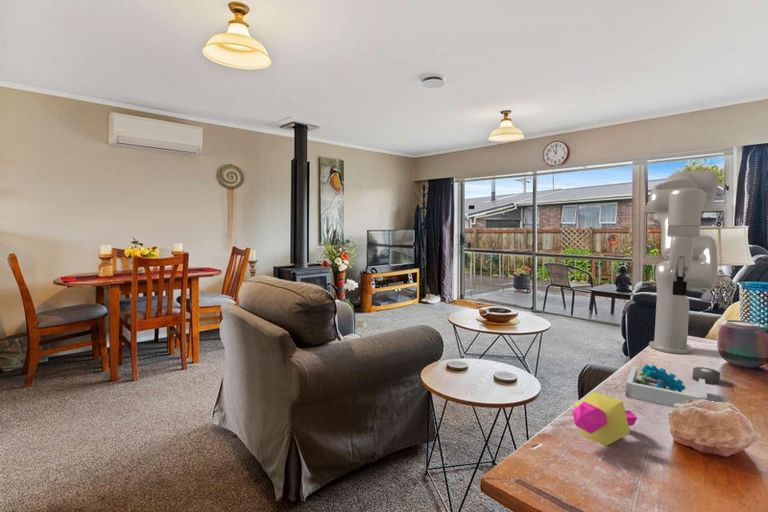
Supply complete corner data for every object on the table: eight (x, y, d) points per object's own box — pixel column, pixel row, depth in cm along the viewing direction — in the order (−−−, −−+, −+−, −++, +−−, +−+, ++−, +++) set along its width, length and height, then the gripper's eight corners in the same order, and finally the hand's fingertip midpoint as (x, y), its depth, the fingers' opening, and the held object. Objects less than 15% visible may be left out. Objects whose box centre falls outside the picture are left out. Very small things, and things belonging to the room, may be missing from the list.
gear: (695, 392, 103) (671, 366, 101) (684, 410, 102) (660, 385, 100) (655, 381, 114) (633, 358, 112) (644, 398, 112) (622, 375, 111)
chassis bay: (631, 378, 116) (632, 366, 116) (703, 392, 107) (704, 379, 106) (625, 396, 104) (626, 383, 104) (706, 413, 94) (707, 399, 94)
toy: (653, 445, 83) (639, 392, 87) (613, 446, 72) (599, 386, 77) (604, 445, 90) (593, 396, 94) (560, 446, 79) (551, 391, 84)
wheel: (692, 374, 119) (693, 365, 119) (718, 379, 116) (719, 369, 115) (692, 381, 114) (693, 370, 114) (720, 386, 111) (720, 375, 111)
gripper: (668, 230, 124) (664, 289, 126) (666, 233, 112) (662, 298, 114) (699, 230, 119) (695, 292, 121) (700, 233, 107) (695, 301, 109)
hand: (679, 294), depth 117 cm, fingers closed
